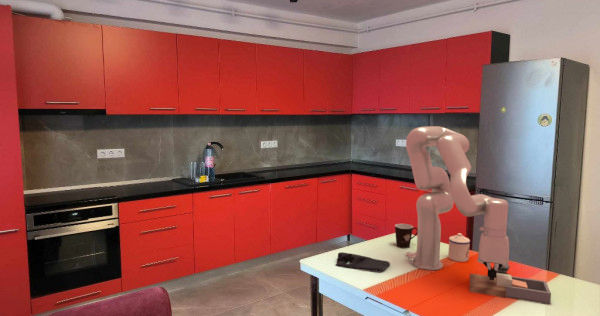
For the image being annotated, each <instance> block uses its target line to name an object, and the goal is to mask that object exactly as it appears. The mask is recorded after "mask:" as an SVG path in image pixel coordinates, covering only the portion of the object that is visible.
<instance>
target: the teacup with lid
mask: <svg viewBox="0 0 600 316" xmlns="http://www.w3.org/2000/svg"><path fill="white" fill-rule="evenodd" d="M470 243H471V240H470V239H469V237H465V236H464V235H463V234H462V233H460V232H459V233H457V235H455V234H454V235H451V236H449V238H448V258H449V259H450V260H452V261H454V262H459V263H460V262H463V263H464V262H467V261H469V259H470V245H471V244H470Z"/></svg>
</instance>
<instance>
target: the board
mask: <svg viewBox="0 0 600 316" xmlns="http://www.w3.org/2000/svg"><path fill="white" fill-rule="evenodd" d="M469 292H470V293H476V294H481V295H482V294H483V295H487V296H493V297H494V296H495V297H499V298H500V297H501V298H507V297H506V288H505V287H503V286H497V285H496V278H494V281H493V280H489V277H488V276H487V275H483V274H477V273H469Z"/></svg>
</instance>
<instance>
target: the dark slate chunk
mask: <svg viewBox="0 0 600 316" xmlns="http://www.w3.org/2000/svg"><path fill="white" fill-rule="evenodd" d="M390 265H391V262H390V261H387V260H382V259H376V258H372V257H370V256H365V255H362V254H361V255H360V254H355V253H350V252H349V253H348V252H344V251H343V252H338V254H337V259H336V263H335V266H336V267H343V268H348V269H354V270H355V269H356V270H364V271H370V272H383V270H385V269H386V268H388V267H389V266H390Z"/></svg>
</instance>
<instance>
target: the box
mask: <svg viewBox="0 0 600 316" xmlns="http://www.w3.org/2000/svg"><path fill="white" fill-rule="evenodd" d="M511 277H512V279H514V280H518V281H522V282H526V284H527V287H528V289H526V288H519V287H513V286H506V287H505V288H506V298H507V299H508V298H509V299H515V300H521V301H527V302H534V303H538V304H539V303H540V304H544V305H551V299H552V298H551V297H552V292H551V290H550V288H549V286H548V285H549V284H548V283H547V281H545V280H540V279H532V278H524V277H519V276H512V275H511Z"/></svg>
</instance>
